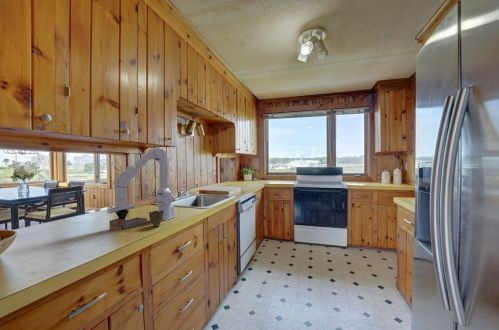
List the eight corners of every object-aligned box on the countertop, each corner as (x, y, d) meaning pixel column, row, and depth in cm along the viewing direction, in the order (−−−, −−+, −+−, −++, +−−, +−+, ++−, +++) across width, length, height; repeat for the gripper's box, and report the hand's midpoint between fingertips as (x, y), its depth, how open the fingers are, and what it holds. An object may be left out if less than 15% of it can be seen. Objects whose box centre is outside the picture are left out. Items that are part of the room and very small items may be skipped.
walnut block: (118, 227, 117) (117, 218, 117) (123, 228, 116) (123, 219, 115) (109, 230, 113) (109, 220, 113) (115, 231, 111) (115, 221, 111)
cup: (166, 224, 123) (166, 210, 123) (159, 228, 116) (159, 213, 116) (153, 224, 124) (153, 209, 124) (146, 227, 116) (146, 212, 116)
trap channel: (137, 221, 131) (137, 216, 131) (147, 222, 128) (147, 218, 128) (115, 227, 118) (115, 222, 118) (125, 228, 115) (125, 224, 115)
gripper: (128, 196, 125) (129, 220, 125) (103, 200, 112) (103, 226, 112) (137, 197, 123) (137, 221, 123) (112, 201, 109) (112, 228, 109)
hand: (122, 224), depth 117 cm, fingers closed
